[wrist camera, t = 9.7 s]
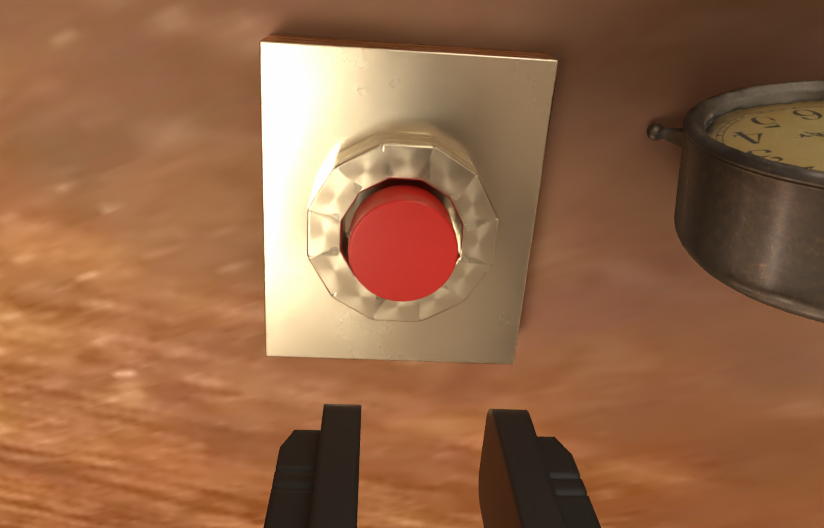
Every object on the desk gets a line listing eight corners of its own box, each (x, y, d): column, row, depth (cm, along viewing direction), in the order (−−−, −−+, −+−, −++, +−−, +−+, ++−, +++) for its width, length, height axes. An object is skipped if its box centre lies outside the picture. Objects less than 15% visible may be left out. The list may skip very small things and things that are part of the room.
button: (448, 282, 25) (453, 304, 23) (348, 278, 24) (346, 300, 23) (457, 186, 23) (463, 202, 22) (351, 181, 23) (349, 197, 21)
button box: (504, 338, 30) (522, 390, 26) (273, 329, 29) (258, 381, 25) (544, 52, 25) (573, 67, 21) (269, 34, 24) (249, 46, 21)
